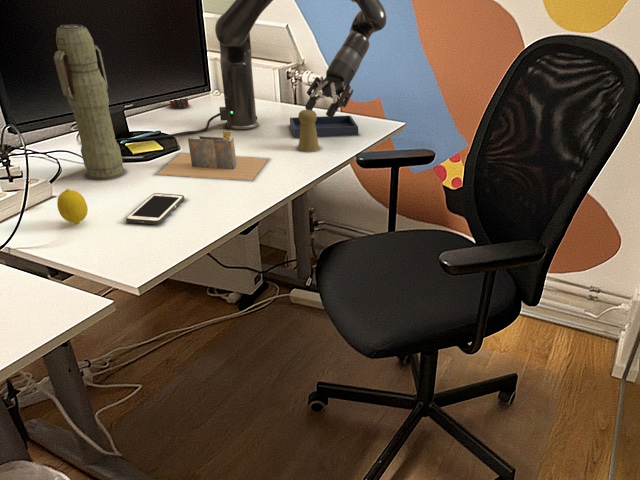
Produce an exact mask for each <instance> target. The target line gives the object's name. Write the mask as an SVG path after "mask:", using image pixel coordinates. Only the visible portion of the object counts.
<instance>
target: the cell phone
mask: <svg viewBox="0 0 640 480" xmlns="http://www.w3.org/2000/svg"><path fill="white" fill-rule="evenodd" d="M184 200H185V196H184V194H176V193H175V194H173V193H162V192H160V193H159V192H155V193H152V194H150V195H149V196H148V197H147V198H146V199H145V200H144V201H143V202H142V203H140V204H139V205H138V206H137V207H136V208H135V209H133V210H132V211H131V212H130V213H129V214H128V215H127V216H126V217H125V221H126V222H127V223H133V224H144V225H145V224H146V225H160V224H161V223H162V222H163V221H165V219H166V218H168V216H169V215H170V214H171V213H172V212H173V211H175V209H176V208H177V207H178V206H179V205H180V204H182V202H184Z"/></svg>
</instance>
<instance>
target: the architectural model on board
mask: <svg viewBox="0 0 640 480" xmlns="http://www.w3.org/2000/svg"><path fill="white" fill-rule="evenodd" d="M222 134H223V136H222V137H219V136H218V137H217V136H203V135H199V137H198V138H194V136H193V135H191V136H189V137H188V138H187V142H188V148H189V153H179V154H178V155H177V156H176V157H175V158H173V160H172V161H170V162H169V163H168V164H167V165H166V166H164V168H162V169H161V170H160V171H159V172H158V173H157V175H159V176H177V177H189V178H191V177H192V178H206V179H208V178H209V179H222V180H223V179H225V180H238V181H253V180H254V179H255V177H256V176H257V174H258V173H259V172H260V170H261V169H262V168H263V167H264V165H265V164H266V162H268V158H261V157H260V158H258V157H244V156H236V155H237V154H236V147H235V139H234V138H233V137H232V135H233V130H231V131H228V130H226V129H224V131H222Z"/></svg>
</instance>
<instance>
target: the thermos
mask: <svg viewBox="0 0 640 480" xmlns="http://www.w3.org/2000/svg"><path fill="white" fill-rule="evenodd" d="M55 34H56V35H55V42H56V47H57V49H58V50H57V51H55V52H54V56H53V61H54V65H55V68H56V69H55V70H56V73H57V77H58V81H59V85H60V88H61V92H62V96H63V97H65V98H67V101H68V105H69V106H70V109H72V112H73V116H74V120H75V124H76V128H77V132H78V136H79V140H80V144H81V146H80V154H81V157H82V162H83V165H84V168H86V174H87V177H88V178H89V179H92V180H100V181H102V180H104V181H105V180H111V179H116V178H119V177H121V176H123V175H124V174H125V169H124V165H123V163H124V160H123V156H122V153H121V147H120V145H119V144H118V141H116V139H115V138H116V135H115V131H114V126H113V122H112V117H111V112H110V109H109V108H110V107H109V105H110V100H109V94H108V90H109V85H108V78H107V74H106V69H105V64H104V60H103V55H102V50H101V49H100V48H99V46H98V45H97V44H95V43H94V39H93V37H92V34H91V33H90V32H89V30H88V28H87V27H86V26H84V25H82V24H78V23H77V24H75V23H74V24H73V23H71V24H69V23H68V24H61V25H59V27H57V28H56V33H55Z"/></svg>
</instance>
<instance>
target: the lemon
mask: <svg viewBox="0 0 640 480" xmlns="http://www.w3.org/2000/svg"><path fill="white" fill-rule="evenodd" d="M56 201H57V203H56V204H57V205H56V206H57V210H58V213H59V215H60V216H61V217H62V219H64V221H67V222H69V223H73V224H75V225H79V224H80V223H81V222H82V221H84V220H85V218H86V217H87V216H88V211H89V210H88V204H87V201H86V199H85V197H84V196H83V195H82V194H81V192H79V191H77V190H74V189H70V188H66V189H65V190H63V191H62V192H61V193H60V194H59V195H58V197H57V200H56Z"/></svg>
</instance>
